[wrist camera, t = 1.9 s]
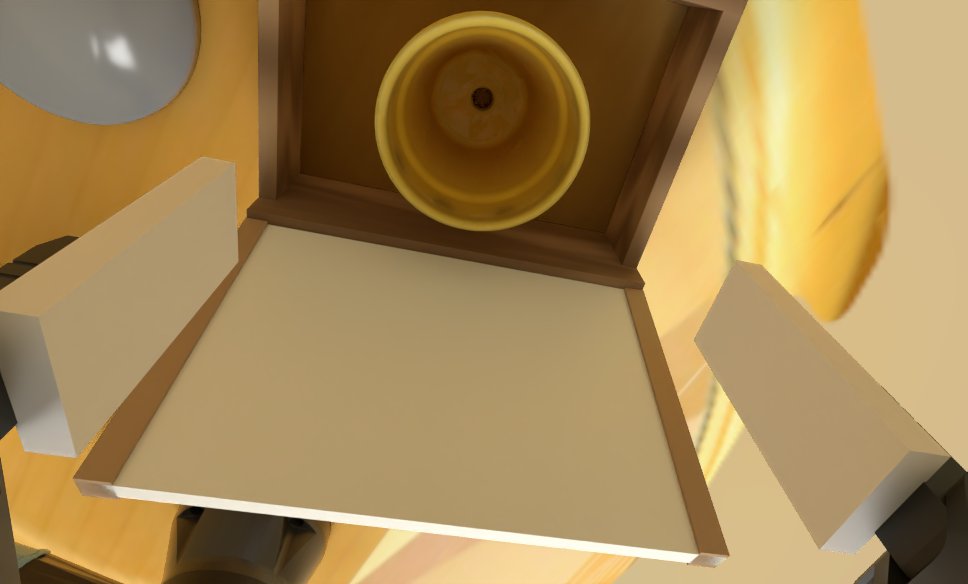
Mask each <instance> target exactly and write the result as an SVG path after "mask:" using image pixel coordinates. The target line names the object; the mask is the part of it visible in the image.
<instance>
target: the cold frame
mask: <svg viewBox="0 0 968 584" xmlns="http://www.w3.org/2000/svg"><path fill="white" fill-rule="evenodd" d="M667 1H670V2H674V3H678V4H682V5H686V6H689V7H688V10H687V12H686V15H685V18H684V21H683V23H682V26H681V29H680V31H679V34H678V37H677V40H676V42H675V45H674V48H673V50H672V53H671V56H670V59H669V61H668V64H667V67H666V70H665V72H664V75H663V78H662V80H661V83H660V86H659V89H658V91H657V94H656V97H655V100H654V102H653V105H652V108H651V110H650V113H649V116H648V119H647V121H646V124H645V127H644V129H643V132H642V135H641V138H640V140H639V143H638V146H637V149H636V151H635V154H634V157H633V159H632V162H631V165H630V168H629V170H628V173H627V176H626V178H625V181H624V184H623V187H622V189H621V192H620V195H619V198H618V200H617V203H616V206H615V208H614V211H613V214H612V217H611V219H610V222H609V225H608V228H607V230H606V233H601V232H596V231H591V230H586V229H580V228H575V227H570V226H565V225H560V224H555V223H550V222H545V221H540V220H535V219H532V220H530V221H527V222H525V223H523V224H520V225H517V226H515V227H511V228H507V229H502V230H495V231H471V230H464V229H459V228H455V227H452V226H448V225H446V224H443V223H440V222H438V221H436V220H434V219H432V218H430V217H428V216H427V215H425V214H424V213H422V212H421V211H419V210H418V209H417V208H415V207H414V206H413V205H412V204H411V203H410V202H409V201H408V200H407V199H406V198H405V197H404V196H403V195H402V194H401V193H397V192H392V191H387V190H382V189H376V188H371V187H366V186H361V185H356V184H351V183H346V182H341V181H336V180H331V179H325V178H320V177H315V176H310V175H305V174H300V155H301V127H302V100H303V72H304V45H305V17H306V0H258V87H259V198H258V199H257V200H256V201H255V202H254V203H253V204H252V205H251V206H250V207H249V208H248V209H247V218H252V219H257V220H262V221H268V224H269V225H274V226H280V227H285V228H291V229H296V230H302V231H307V232H313V233H318V234H323V235H329V236H334V237H340V238H345V239H351V240H356V241H362V242H367V243H373V244H378V245H384V246H389V247H395V248H400V249H406V250H411V251H417V252H422V253H427V254H433V255H438V256H444V257H449V258H455V259H460V260H466V261H471V262H477V263H482V264H488V265H493V266H499V267H504V268H510V269H515V270H520V271H526V272H531V273H537V274H542V275H548V276H553V277H559V278H564V279H570V280H575V281H581V282H586V283H592V284H597V285H603V286H608V287H613V288H619V289H624V288H625V287H628V288H633V289H639V290H643V287H644V285H645V283H644V281H643V279H642V277H641V276H640V274H639V272H638V270H637V266H638V263H639V261H640V259H641V256H642V254H643V251H644V249H645V247H646V244H647V242H648V239H649V237H650V234H651V232H652V230H653V227H654V225H655V222H656V220H657V218H658V215H659V213H660V210H661V208H662V206H663V203H664V201H665V198H666V196H667V194H668V191H669V189H670V186H671V184H672V182H673V179H674V177H675V174H676V172H677V170H678V167H679V165H680V162H681V160H682V158H683V155H684V153H685V150H686V148H687V146H688V143H689V141H690V138H691V136H692V134H693V131H694V129H695V126H696V124H697V122H698V119H699V117H700V114H701V112H702V110H703V107H704V105H705V102H706V100H707V98H708V95H709V93H710V90H711V88H712V86H713V83H714V81H715V78H716V76H717V74H718V71H719V69H720V66H721V64H722V61H723V59H724V57H725V54H726V52H727V49H728V47H729V45H730V42H731V40H732V37H733V35H734V33H735V30H736V28H737V25H738V23H739V21H740V18H741V16H742V13H743V11H744V9H745V6H746V4H747V1H748V0H667Z"/></svg>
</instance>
